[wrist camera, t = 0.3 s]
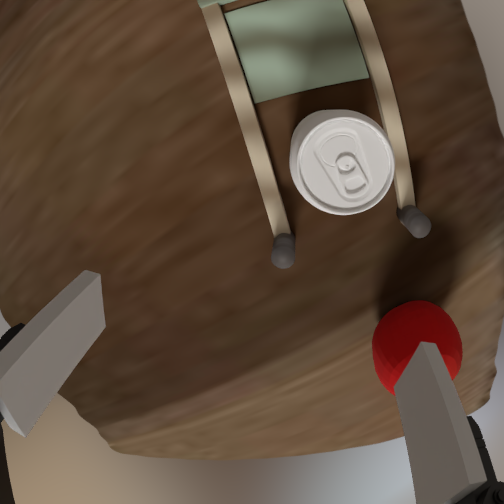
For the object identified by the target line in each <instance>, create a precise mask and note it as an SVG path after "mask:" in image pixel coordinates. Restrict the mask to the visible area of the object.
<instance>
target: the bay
mask: <svg viewBox="0 0 504 504" xmlns="http://www.w3.org/2000/svg"><path fill="white" fill-rule="evenodd" d="M197 1H198V3H199V6H200V8H201V9H202V12H203V15H204V18H205V21H206V23H207V26H208V29H209V32H210V35H211V38H212V41H213V44H214V47H215V50H216V53H217V56H218V59H219V62H220V65H221V68H222V71H223V74H224V77H225V80H226V83H227V86H228V89H229V92H230V95H231V98H232V101H233V104H234V108H235V111H236V114H237V117H238V120H239V123H240V126H241V129H242V133H243V136H244V139H245V142H246V145H247V148H248V152H249V155H250V158H251V161H252V165H253V168H254V171H255V174H256V178H257V181H258V184H259V187H260V191H261V194H262V197H263V201H264V204H265V207H266V211H267V214H268V217H269V221H270V224H271V227H272V231H273V234H274V243H273V249H272V255H271V260H272V262H273V264H274V265H275V266H276V267H278V268H288V267H290V266H291V265H292V264H293V263H294V261H295V235H294V234H293V232H292V231H291V230H290V227H289V223H288V219H287V216H286V212H285V209H284V205H283V202H282V198H281V194H280V191H279V187H278V184H277V181H276V177H275V174H274V170H273V167H272V163H271V160H270V157H269V153H268V150H267V147H266V143H265V140H264V137H263V134H262V130H261V127H260V124H259V121H258V117H257V114H256V111H255V108H254V105H253V102H252V98H251V95H250V92H249V89H248V86H247V83H246V80H245V77H244V74H243V71H242V68H241V65H240V62H239V59H238V56H237V53H236V50H235V47H234V44H233V41H232V38H231V36H230V33H229V30H228V27H227V24H226V21H225V19H224V16H223V13H222V10H221V7H220V6H221V5H224V4H227V3H230V2H233V1H236V0H197ZM344 2H345V5H346V7H347V10H348V12H349V15H350V18H351V20H352V23H353V26H354V29H355V31H356V34H357V37H358V40H359V43H360V46H361V49H362V52H363V55H364V58H365V61H366V64H367V68H368V71H369V74H370V78H371V81H372V85H373V88H374V92H375V95H376V99H377V103H378V107H379V111H380V115H381V119H382V123H383V128H384V132H385V133H386V135H387V136H388V138H389V140H390V142H391V144H392V147H393V151H394V156H395V171H394V176H393V177H394V183H395V189H396V195H397V202H398V208H397V216H398V218H399V219H400V222H401V223H402V224H403V225H405V226H406V228H407V229H408V230H409V231H410V232H411V234H412V235H413V236H414V237H416V238H423V237H425V236H426V235H427V234H428V233H429V232H430V229H431V222H430V220H429V219H428V218H427V217H426V216H425V215H424V214H423V213H422V212H421V211H420V210H419V209H418V208H416V205H415V197H414V190H413V183H412V176H411V170H410V164H409V158H408V153H407V147H406V142H405V137H404V132H403V128H402V123H401V119H400V114H399V110H398V106H397V102H396V98H395V94H394V90H393V86H392V83H391V79H390V76H389V72H388V69H387V65H386V62H385V59H384V56H383V53H382V49H381V46H380V43H379V40H378V38H377V35H376V32H375V29H374V26H373V23H372V21H371V18H370V15H369V13H368V10H367V8H366V5H365V3H364V0H344ZM345 5H344V3H343V0H270V1H266V2H262V3H258V4H255V5H251V6H248V7H244V8H241V9H238V10H234V11H231V12H228V13H225V17H226V19H227V22H228V25H229V28H230V31H231V34H232V36H233V39H234V42H235V45H236V48H237V51H238V54H239V57H240V60H241V63H242V66H243V69H244V72H245V75H246V78H247V81H248V84H249V87H250V90H251V93H252V96H253V99H254V103H255V104H256V103H259V102H263V101H266V100H270V99H273V98H277V97H281V96H285V95H289V94H293V93H297V92H301V91H305V90H310V89H314V88H319V87H323V86H328V85H333V84H338V83H343V82H348V81H354V80H359V79H365V78H369V75H368V71H367V68H366V65H365V62H364V58H363V55H362V52H361V49H360V46H359V43H358V40H357V37H356V35H355V32H354V29H353V26H352V23H351V21H350V18H349V15H348V13H347V10H346V8H345Z"/></svg>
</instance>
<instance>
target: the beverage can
mask: <svg viewBox="0 0 504 504" xmlns="http://www.w3.org/2000/svg"><path fill="white" fill-rule="evenodd" d="M290 171H291V175H292V178H293V181H294V183H295V185H296V187H297V189H298V191H299V192H300V193H301V195H302V196H303V197H304V198H305V199H306V200H307V201H308V202H309V203H311V204H312V205H313V206H315V207H316V208H318V209H320V210H322V211H325V212H328V213H332V214H337V215H350V214H355V213H359V212H362V211H365V210H367V209H369V208H371V207H373V206H374V205H375V204H377V203H378V202H379V201H380V200H381V199H382V198H383V197H384V195H385V194H386V192H387V191H388V189H389V187H390V185H391V182H392V179H393V176H394V171H395V156H394V151H393V147H392V144H391V142H390V140H389V138H388V136H387V135H386V133H385V132H384V130H383V129H382V128H381V127H380V126H379V125H378V124H377V123H376V122H375V121H374V120H372V119H371V118H369V117H367V116H366V115H364V114H361V113H359V112H355V111H351V110H321V111H317V112H314V113H312V114H310V115H308V116H307V117H305V118H304V119H303V120H302V121H301V122H300V123H299V124H298V126H297V127H296V129H295V131H294V133H293V136H292V139H291V148H290Z"/></svg>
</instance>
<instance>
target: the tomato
mask: <svg viewBox="0 0 504 504" xmlns="http://www.w3.org/2000/svg"><path fill="white" fill-rule="evenodd" d="M420 342H428V343H436V345H437V347H438V350H439V352H440V354H441V356H442V358H443V361H444V363H445V365H446V367H447V370H448V372H449V374H450V377H451V379H452V380H453V379H454V378H455V376H456V375H457V374H458V372H459V370H460V367H461V361H462V342H461V338H460V335H459V332H458V330H457V328H456V326H455V324H454V322H453V321H452V319H451V317H450V316H449V315H448V314H447V313H446V312H445V311H444V310H443V309H442V308H441V307H439V306H437V305H435V304H433V303H431V302H429V301H424V300H416V301H410V302H407V303H404V304H402V305H399V306H397V307H395V308H394V309H392V310H391V311H389V312H388V313H387V314H386V315H385V316H384V317H383V318H382V319H381V320H380V322H379V323H378V325H377V327H376V329H375V331H374V335H373V340H372V349H373V359H374V365H375V370H376V373H377V375H378V377H379V379H380V381H381V383H382V384H383V385H384V387H385V388H386V389H387V390H388V391H389V392H390V393H392V394H393V395H395V391H394V386H395V384H396V383H397V381H398V379H399V378H400V376H401V375H402V373H403V371H404V370H405V368H406V367H407V365H408V363H409V362H410V360H411V358H412V356H413V355H414V353H415V351H416V350H417V348H418V346H419V344H420ZM395 396H396V395H395Z"/></svg>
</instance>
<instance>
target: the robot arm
mask: <svg viewBox="0 0 504 504" xmlns="http://www.w3.org/2000/svg"><path fill="white" fill-rule="evenodd" d="M105 327H106V326H105V318H104V309H103V300H102V289H101V277H100V274H98V273H94V272H91V271H87V270H85V271H83V272H82V273H81V274H80V275H79V276H78V277H77V278H76V279H74V280H73V281H72V282H71V283H70V284H69V285H68V286H67V287H66V288H64V289H63V290H62V291H61V292H60V293H59V294H58V295H57V296H56V297H55V298H54V299H53V300H52V301H50V302H49V303H48V304H47V305H46V306H45V307H44V308H43V309H42V310H41V311H40V312H39V313H38V314H37V315H36V316H35V317H34V318H33V319H32V320H31V321H30V322H29V323H28V324H27V325H25V324H23V323H20V324H18V325H16V326H14V327H12V328H10V329H9V330H8V331H7V332H6V333H5V334H4V335H3V336H2V337H1V339H0V504H15V501H14V498H13V493H12V488H11V483H10V478H9V472H8V466H7V460H6V453H5V446H4V437H3V429H2V426H1V422H2V420H3V419H5V421H6V422H7V424H8V425H9V427H10V428H11V429H13V430H14V431H16V432H17V433H19V434H21V435H22V436H24V437H27V435H28V434H29V432H30V431H31V429H32V428H33V426H34V425H35V423H36V422H37V420H38V418H39V417H40V416H41V414H42V413H43V412H44V410H45V409H46V407H47V405H48V404H49V403H50V401H51V400H52V399H53V397H54V396H55V394H56V393H57V392H58V390H59V389H60V387H61V386H62V385H63V383H64V382H65V380H66V379H67V378H68V376H69V375H70V373H71V372H72V371H73V369H74V368H75V367H76V365H77V364H78V363H79V361H80V360H81V359H82V357H83V356H84V355H85V353H86V352H87V351H88V349H89V348H90V347H91V345H92V344H93V343H94V341H95V340H96V339H97V337H98V336H99V335H100V334H101V332H102V331H103V330H104V328H105ZM394 391H395V395H396V400H397V404H398V408H399V412H400V417H401V421H402V426H403V430H404V435H405V440H406V445H407V450H408V455H409V461H410V466H411V472H412V478H413V484H414V490H415V497H416V504H504V482H501V481H500V482H498V481H497V479H496V476H495V472H494V469H493V466H492V463H491V460H490V456H489V454H488V451H487V448H485V447H486V445H485V442H484V439H482V438H483V436H482V434H481V431H480V428H479V426H478V424H477V423H476V422H475V420H474V419H473V418H472V416H466V414H465V411H464V409H463V406H462V404H461V401H460V399H459V396H458V394H457V391H456V389H455V386H454V384H453V381H452V379H451V377H450V374H449V372H448V370H447V367H446V365H445V363H444V361H443V358H442V356H441V354H440V352H439V350H438V347H437V345H436V343H428V342H420V344H419V346H418V348H417V350H416V351H415V353H414V355H413V356H412V358H411V360H410V362H409V363H408V365H407V367H406V368H405V370H404V371H403V373H402V375H401V376H400V378H399V379H398V381H397V383H396V384H395V386H394Z"/></svg>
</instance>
